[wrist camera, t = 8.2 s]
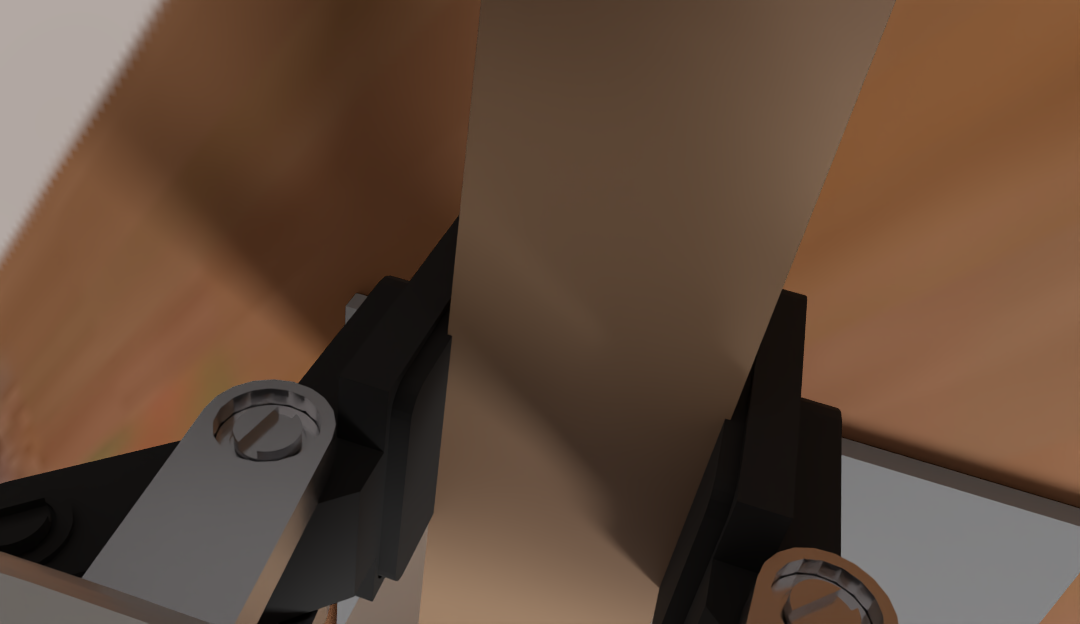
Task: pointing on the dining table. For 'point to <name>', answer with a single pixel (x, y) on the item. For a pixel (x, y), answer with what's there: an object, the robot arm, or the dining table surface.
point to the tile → (396, 595)
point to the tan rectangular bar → (619, 280)
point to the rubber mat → (942, 539)
